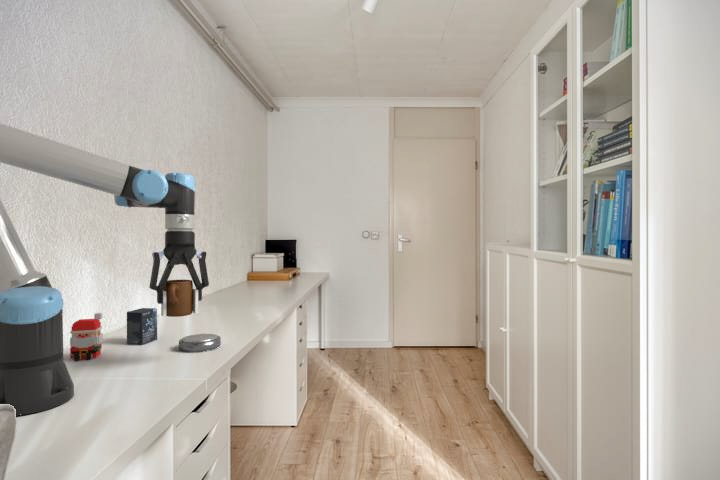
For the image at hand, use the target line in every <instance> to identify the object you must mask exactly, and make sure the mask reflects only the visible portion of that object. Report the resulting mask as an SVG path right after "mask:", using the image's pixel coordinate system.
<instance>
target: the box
mask: <svg viewBox="0 0 720 480" xmlns="http://www.w3.org/2000/svg"><path fill="white" fill-rule="evenodd" d="M157 340H158V308H156V307H155V308H153V307H151V308H150V307H141V308H137V309H134V310H130V311H129V310H128V311H126V345H132V346H143V345H145V344H147V343H150V342H154V341H157Z"/></svg>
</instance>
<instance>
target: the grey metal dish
mask: <svg viewBox="0 0 720 480" xmlns="http://www.w3.org/2000/svg"><path fill="white" fill-rule="evenodd" d="M220 345H221V336H219V335H218V334H215V333H214V334H213V333H199V334H198V333H195V334H190V335H187V336H184V337H182V338H180V339H179V340H178V350H179V351H180V352H181V353H204V352H203V351H205V352H208V351H207V350H210V351H213V350H212V349H214V350H216V349H215V348H217V347H219V346H220ZM220 347H221V346H220ZM220 347H219V348H220ZM217 349H218V348H217Z"/></svg>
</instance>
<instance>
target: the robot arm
mask: <svg viewBox="0 0 720 480" xmlns="http://www.w3.org/2000/svg"><path fill="white" fill-rule="evenodd" d="M0 164H5V165H8V166H11V167H15V168H19V169H23V170H26V171H30V172H33V173H37V174H39V175H40V174H41V175H44V176H48V177H51V178H55V179H57V180H60V181H65V182H69V183H72V184H76V185H79V186H81V187H82V186H83V187H86V188H90V189H93V190H95V191H96V190H97V191H99V192H104V193H106V194H107V193H108V194H111V195H113V196H114V203H115V205H116V206H118V207H124V208H126V207H127V208H153V209H155V208H156V209H157V208H158V209H164V212H165V213H164V214H165V216H164V219H165V220H164V229H165V230H167V231H165V232H164V248H163V250H162V251H161V250H160V251H154V252H152V254H151V255H152V259H153V262H152V270H151V275H150V280H149V286H148V287H149V289H151V290H154V291H156V303H157V304H158V305H159V304H160V307H161V308H160V315H161V317H167V316H166V291H163V290H164V287H165V285H166V283H167V281H168V280H169V278H170V276H171V273H172V270H173V269H174V267H175V266H179V265H183V266H186V268H187V270H188V273H189V275H190V278H191V280H192V282H193V286H194V287H195V288H193V312H192V314H193V313H194V314H197V315H198V314H199V302H201V301H202V300H203V289H204V288H207V287H208V286H209V285H210V282H209V276H208V268H207V263H206V258H207V251H201V250H200V251H199V250H197V249H196V246H195V245H196V244H195V243H196V241H195V240H196V238H195V237H196V236H195V235H196V234H195V231H193V230H194V229H196V227H195V225H196V224H195V222H196V218H195V216H196V215H195V213H196V212H195V207H196V206H195V205H196V204H195V201H196V199H195V198H196V188H195V185H196V184H195V177H194V176H193V175H191V174H189V173H185V172H184V173H182V172H168V173H166V174H165V176H164V175H163V174H162V173H160V172H159V171H156V170H154V169H142V168H138V167H135V166H133V165H129V164H126V163H123V162H120V161H117V160H115V159H111V158H107V157H105V156H102V155H99V154H96V153H93V152H90V151H86V150H83V149H80V148H79V147H78V148H77V147H74V146H71V145H68V144H65V143H62V142H59V141H56V140H53V139H50V138H47V137H44V136H41V135H38V134H35V133H31V132H28V131H25V130H22V129H19V128H16V127H13V126H11V125H7V124H4V123H1V122H0ZM20 238H21V237H20V236H19V235H18V232H17V230H16V228H15V226H14V224H13V222H12V220H11V218H10V215H9V214H8V212H7V210H6V207H5V206H4V203H3V201H2V199H1V198H0V404H10V405H12V406H14V408H15V409H16V416H15V417H18V415H20V414H26V415H30V413H31V414H35V412H36V413H39V412H43V411H47V410H51V409H53V408H56V407H59V406H61V405H63V404H65V403H68V402H69V401H70V400H71V399H73V397H74V396H75V386H74V385H75V384H74V382H73V379H72V378H71V374H70V373H69V370H68V368H67V366H66V363H65V361H64V327H63V326H64V325H63V324H64V323H63V322H64V320H63V318H64V317H63V313H64V312H63V311H64V310H63V307H64V300H63V295H62V292H61V291H60V290H59V289H58V288H55V287H53V286H52V285H51V282H50V280H49V279H48V276H47V274H46V273H43V272H41V271H37V270H36V269H35V267H34V265H33V264H32V261H31V259H30V257H29V254H28V253H27V250H26V248H25V247H24V245H23V243H22V240H21V239H20ZM163 256H164V257H165V258H166V260H167V263H166V266H165V268H164V271H163V274H162V275H161V278H160V280H159V282H158V279H159V278H158V277H159V272H160V267H161V261H162V259H163ZM195 256H196V259H198V266H199V272H200V278H199V276H198V273H197V270H196V269H195V267H194V266H195V265H194V263H193V259H194V258H195ZM200 279H201V280H200ZM58 405H59V406H58ZM55 406H56V407H55ZM20 416H21V415H20Z"/></svg>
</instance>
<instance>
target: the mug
mask: <svg viewBox="0 0 720 480" xmlns="http://www.w3.org/2000/svg"><path fill="white" fill-rule="evenodd" d="M193 289H194V282H193V280H192V279H168V280H167V283H166V285H165V287H164V290H163V291H166V316H165V317H173V318H174V317H175V318H177V317H185V316H190V315H192V314H193Z"/></svg>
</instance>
